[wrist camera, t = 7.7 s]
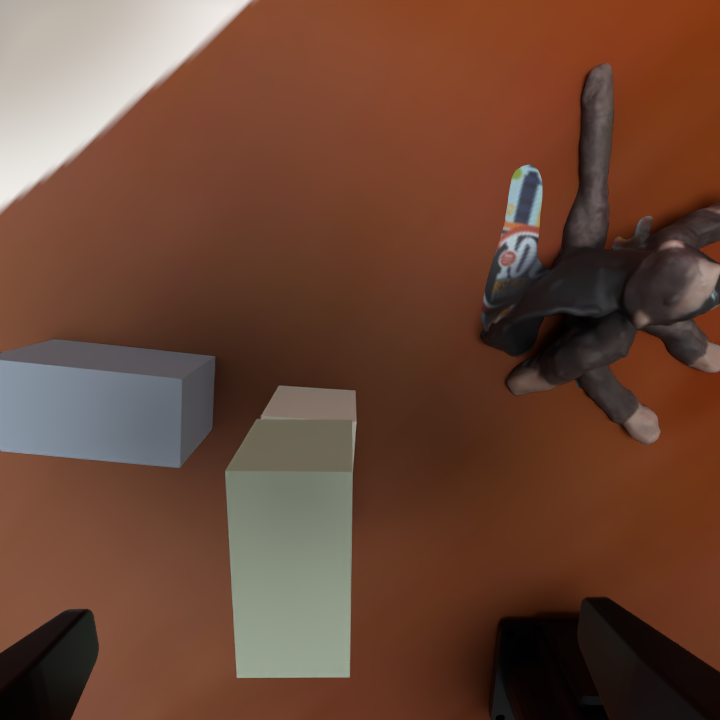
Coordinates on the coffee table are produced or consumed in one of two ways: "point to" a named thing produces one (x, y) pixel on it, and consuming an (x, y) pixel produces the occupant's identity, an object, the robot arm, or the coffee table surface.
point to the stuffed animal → (599, 281)
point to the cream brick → (313, 405)
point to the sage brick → (291, 548)
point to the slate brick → (105, 402)
